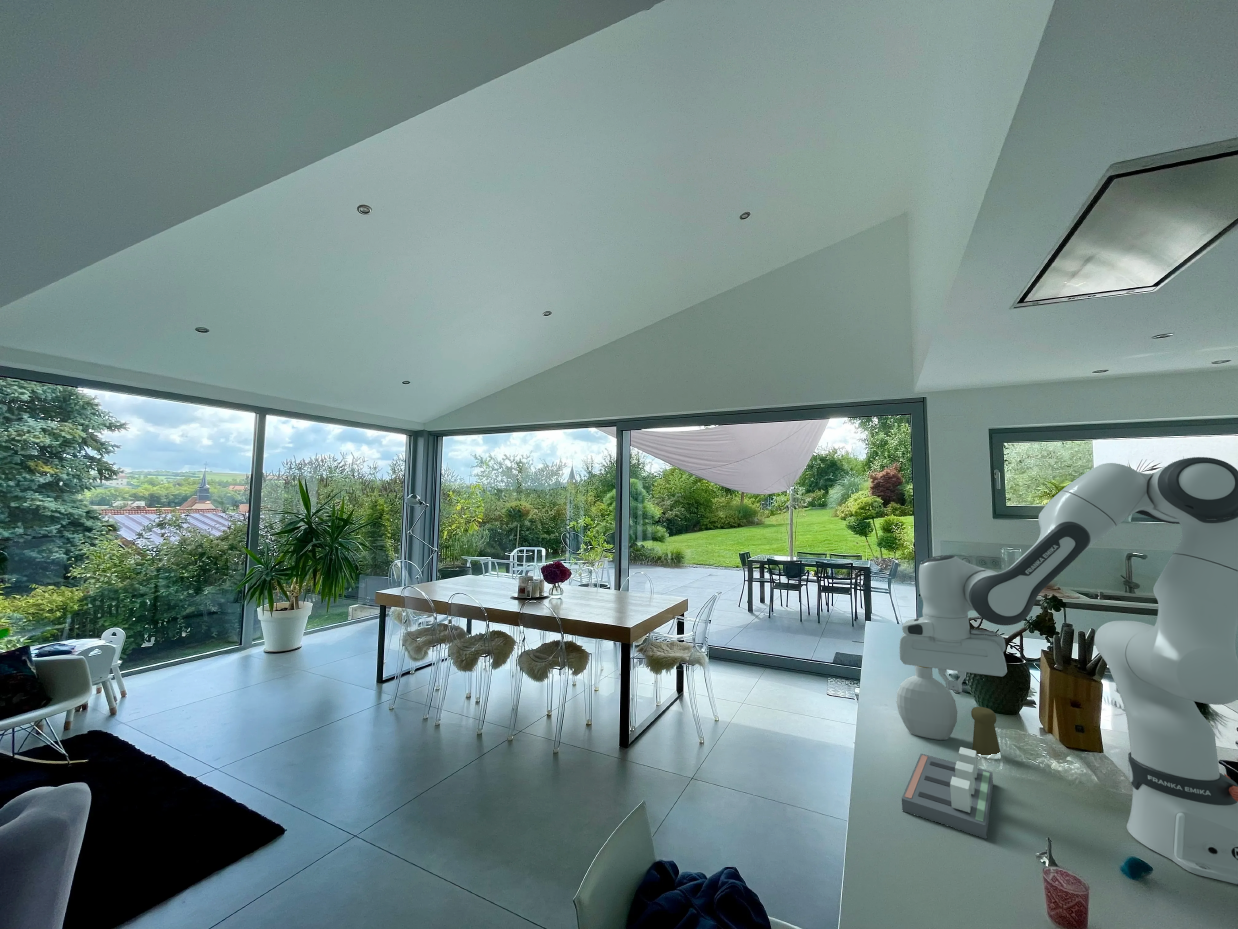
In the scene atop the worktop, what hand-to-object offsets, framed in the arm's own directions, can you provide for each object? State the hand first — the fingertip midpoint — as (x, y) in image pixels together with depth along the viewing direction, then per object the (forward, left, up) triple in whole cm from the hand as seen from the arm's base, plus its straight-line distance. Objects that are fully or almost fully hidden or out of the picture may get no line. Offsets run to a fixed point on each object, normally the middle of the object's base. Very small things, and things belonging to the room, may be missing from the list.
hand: (954, 689), depth 111 cm
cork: (-3, -23, -22) cm, 32 cm away
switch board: (+2, +5, -21) cm, 22 cm away
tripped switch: (-1, +5, -19) cm, 19 cm away
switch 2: (-1, +13, -19) cm, 23 cm away
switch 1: (-1, -3, -19) cm, 19 cm away
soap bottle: (+10, -25, -22) cm, 34 cm away
